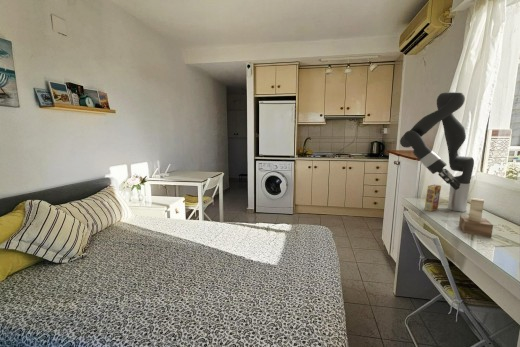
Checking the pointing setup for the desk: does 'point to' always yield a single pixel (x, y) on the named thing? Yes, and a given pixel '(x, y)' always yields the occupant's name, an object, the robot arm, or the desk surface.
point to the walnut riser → (475, 226)
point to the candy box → (432, 197)
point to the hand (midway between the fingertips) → (458, 187)
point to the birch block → (476, 209)
